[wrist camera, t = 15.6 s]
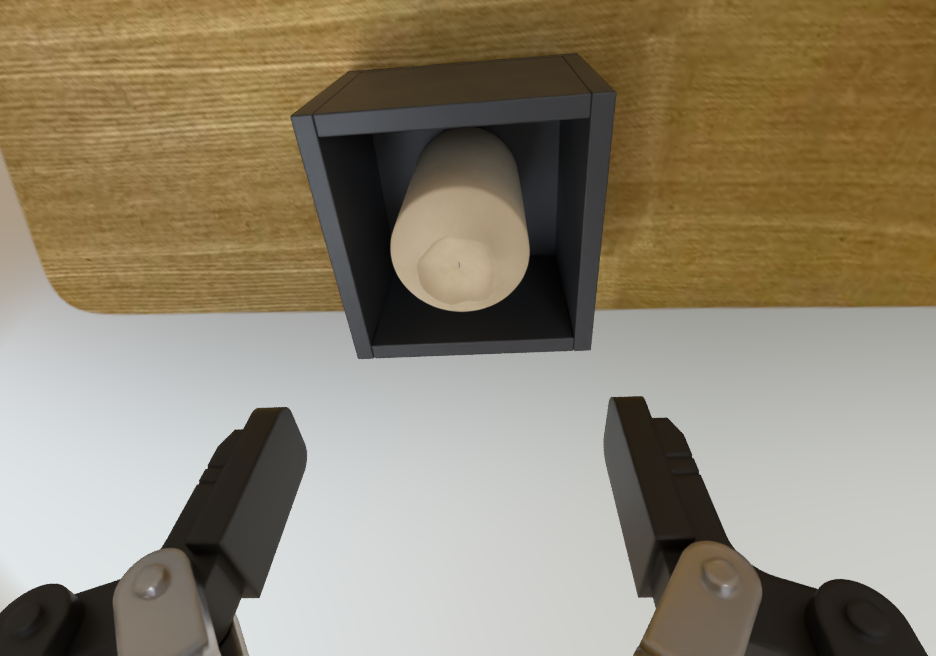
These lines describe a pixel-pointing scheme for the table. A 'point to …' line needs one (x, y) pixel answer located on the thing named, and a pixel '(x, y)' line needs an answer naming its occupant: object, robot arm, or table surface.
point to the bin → (391, 169)
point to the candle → (462, 223)
